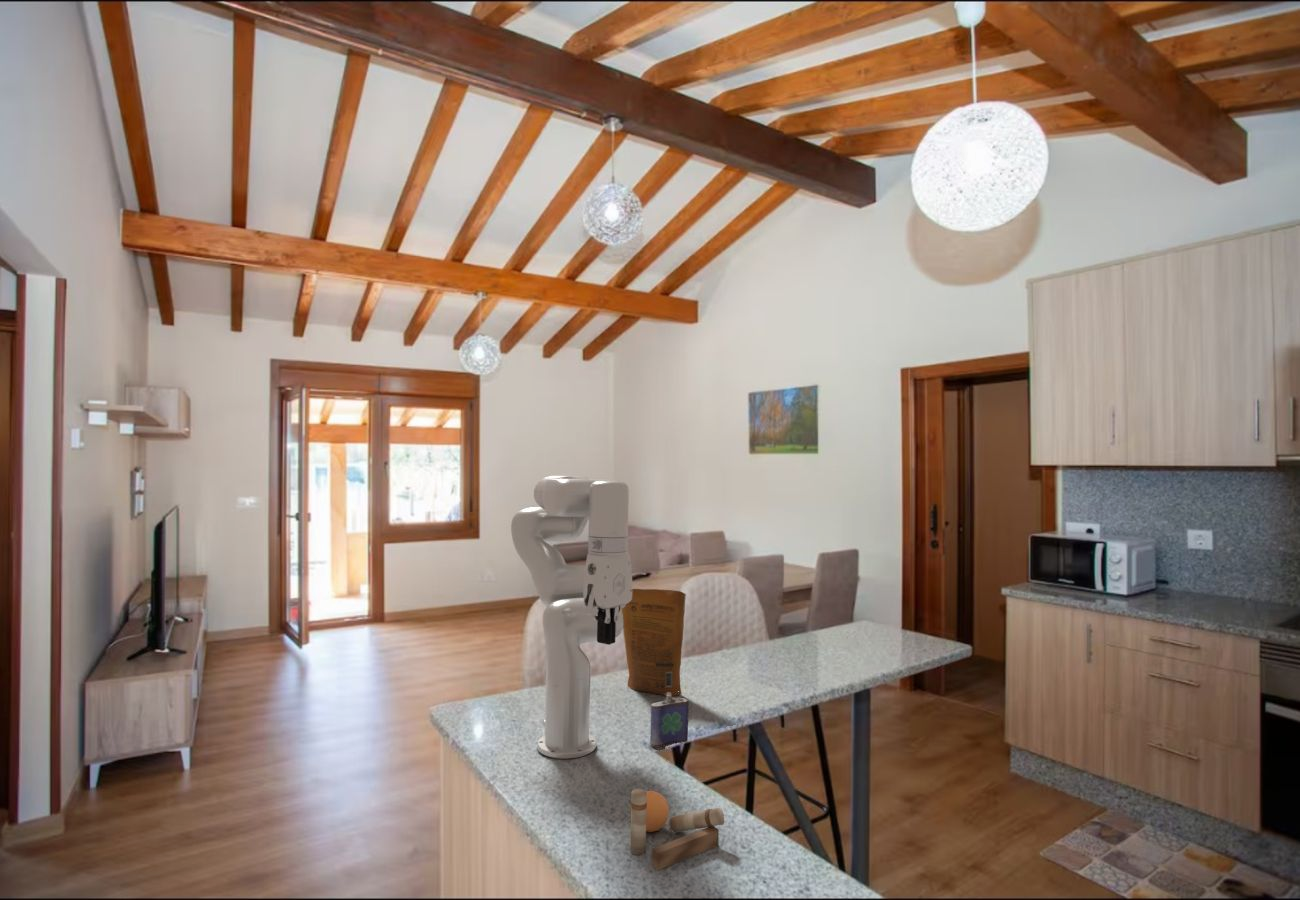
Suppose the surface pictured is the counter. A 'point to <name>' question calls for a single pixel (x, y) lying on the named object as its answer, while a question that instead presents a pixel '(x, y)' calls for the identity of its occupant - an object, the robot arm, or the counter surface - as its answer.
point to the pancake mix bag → (654, 640)
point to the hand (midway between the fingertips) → (606, 642)
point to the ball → (656, 811)
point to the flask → (669, 721)
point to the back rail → (684, 847)
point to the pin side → (638, 821)
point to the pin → (697, 820)
